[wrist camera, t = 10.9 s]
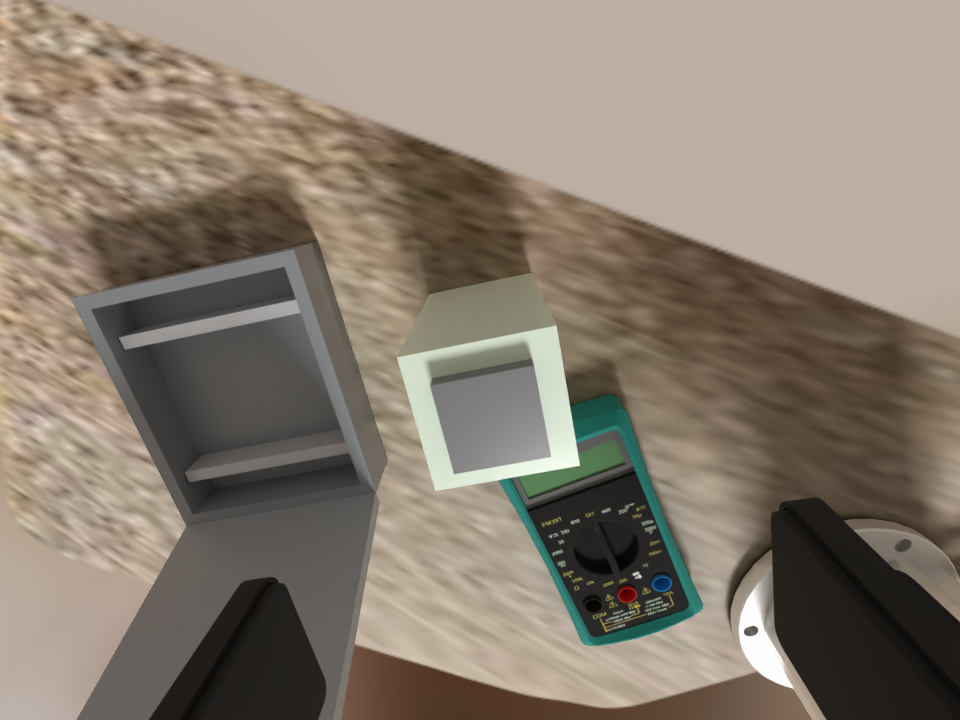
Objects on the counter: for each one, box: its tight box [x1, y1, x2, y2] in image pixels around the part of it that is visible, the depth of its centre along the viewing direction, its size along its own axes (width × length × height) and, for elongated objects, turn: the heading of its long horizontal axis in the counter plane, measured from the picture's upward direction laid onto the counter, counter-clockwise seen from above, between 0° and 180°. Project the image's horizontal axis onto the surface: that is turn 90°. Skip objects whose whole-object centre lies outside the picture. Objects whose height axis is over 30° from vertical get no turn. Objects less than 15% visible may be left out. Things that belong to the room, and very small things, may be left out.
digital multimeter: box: [498, 394, 703, 646], centre depth 27 cm, size 7×15×3 cm, turn 25°
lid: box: [77, 493, 380, 720], centre depth 20 cm, size 10×12×1 cm
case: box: [72, 241, 387, 526], centre depth 24 cm, size 10×12×3 cm
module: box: [397, 273, 580, 491], centre depth 20 cm, size 5×5×10 cm
